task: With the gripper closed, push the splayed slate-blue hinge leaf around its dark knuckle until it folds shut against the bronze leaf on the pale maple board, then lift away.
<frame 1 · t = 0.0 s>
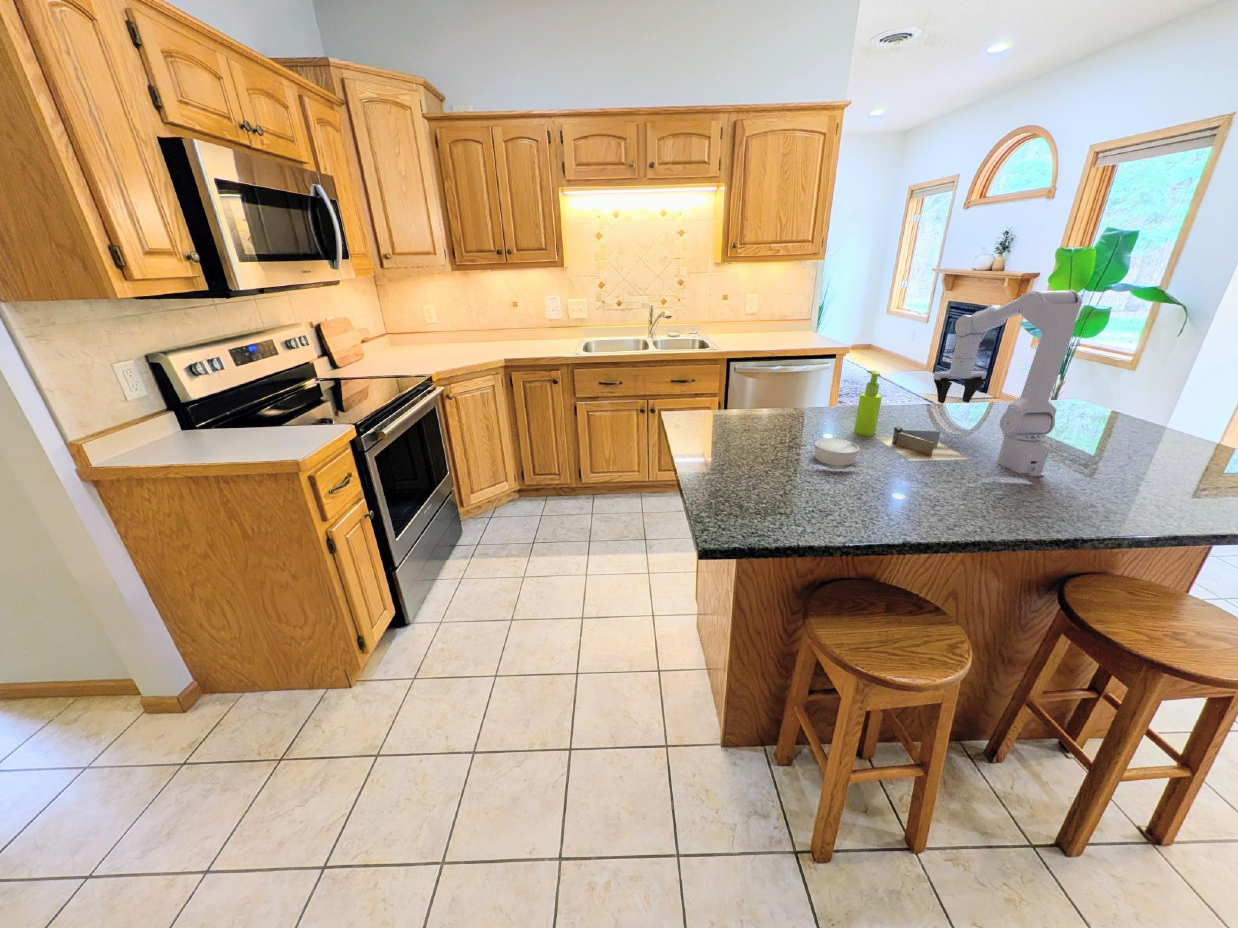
hand: (953, 402, 152), 10 cm above the countertop, fingers open, 7 cm apart
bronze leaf: (895, 443, 145), resting on maple board
soap dispenser: (863, 436, 155), on the countertop
ramekin: (833, 463, 136), on the countertop
slate leaf: (919, 436, 143), point 3 cm above the countertop, hinge at 50.0°
maple board: (918, 451, 142), on the countertop
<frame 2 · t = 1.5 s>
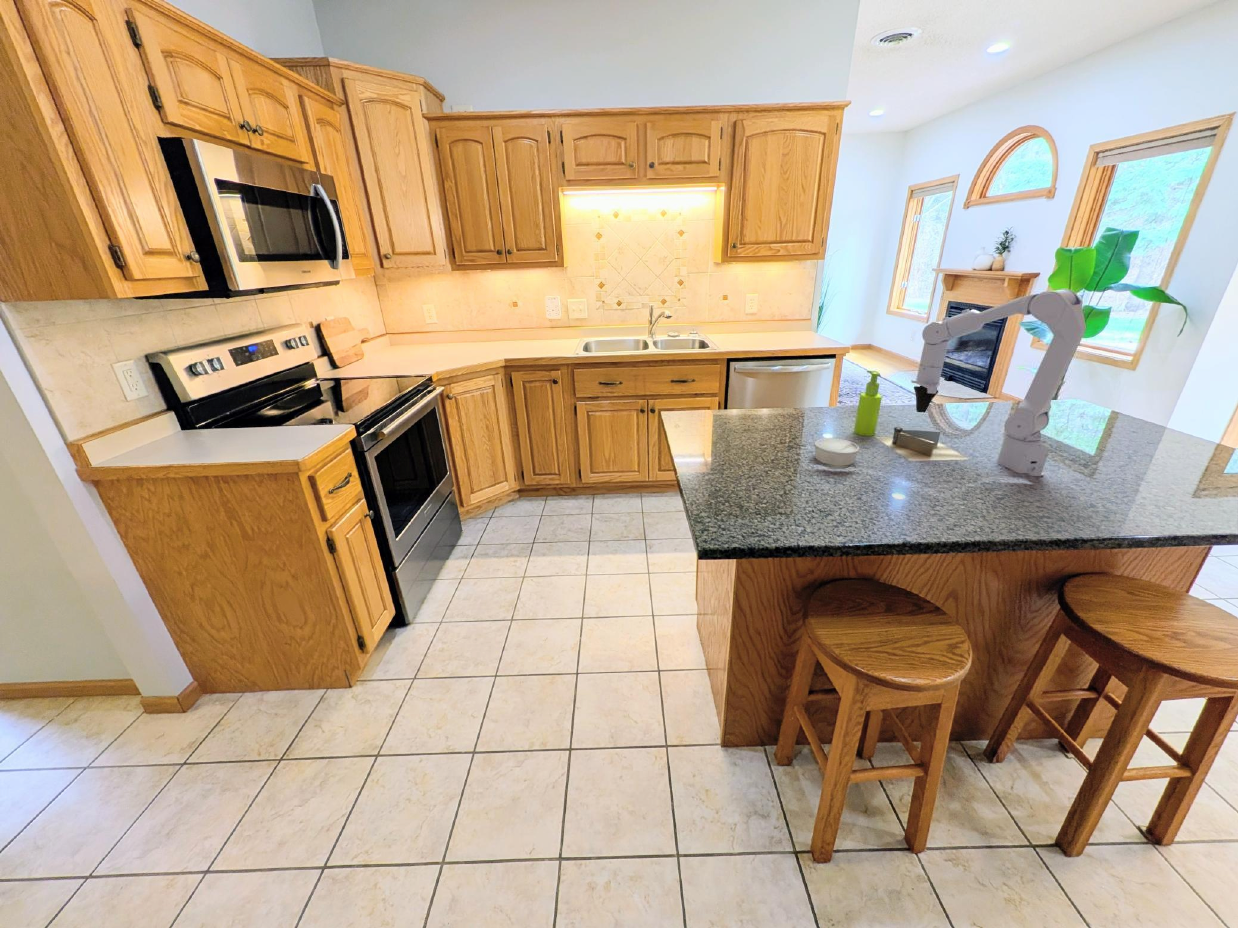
hand: (920, 411, 146), 9 cm above the countertop, fingers closed
nothing on the countertop moved.
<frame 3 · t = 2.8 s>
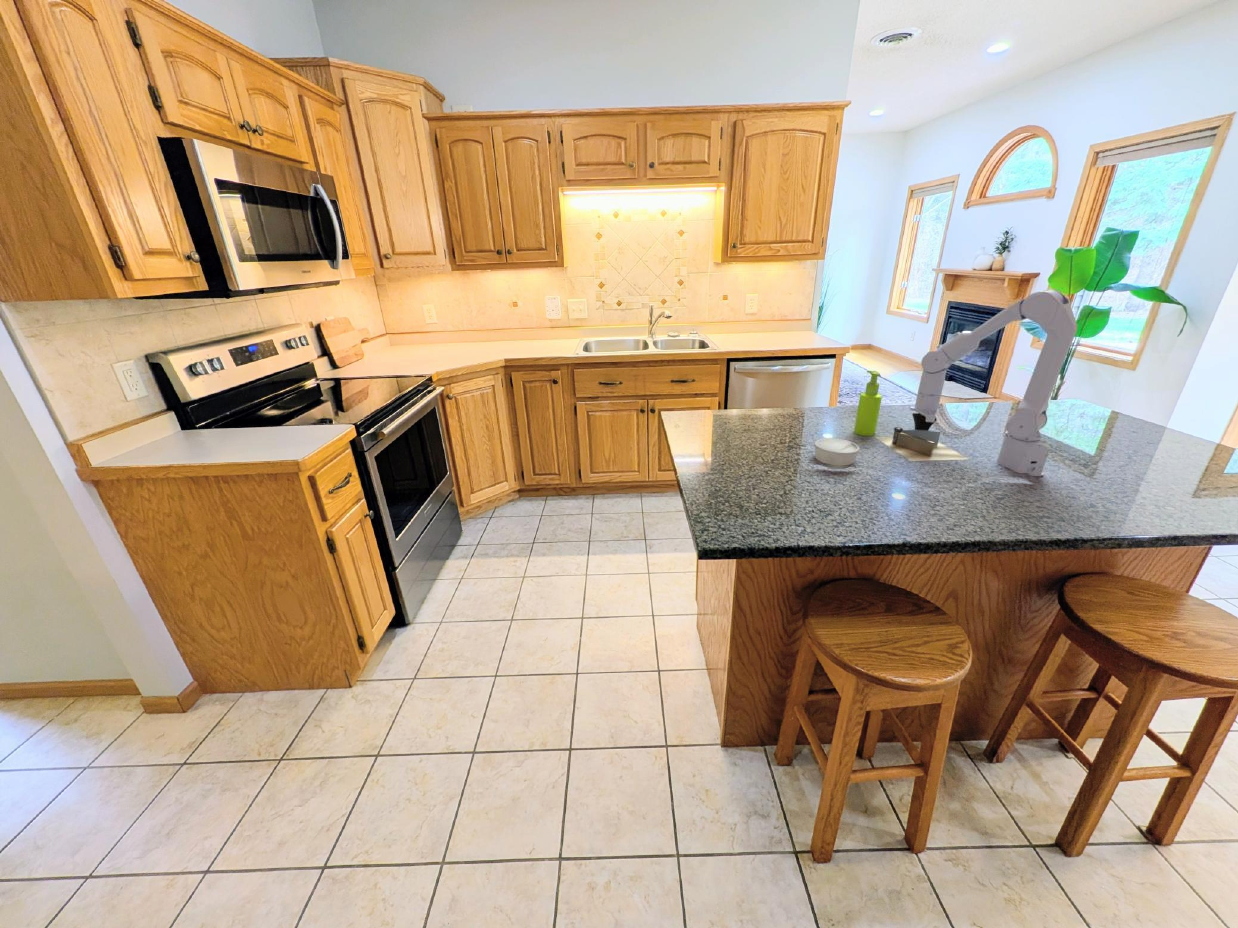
hand: (919, 438, 145), 2 cm above the countertop, fingers closed
slate leaf: (919, 436, 143), point 3 cm above the countertop, hinge at 50.0°, touching gripper
everything else where it was.
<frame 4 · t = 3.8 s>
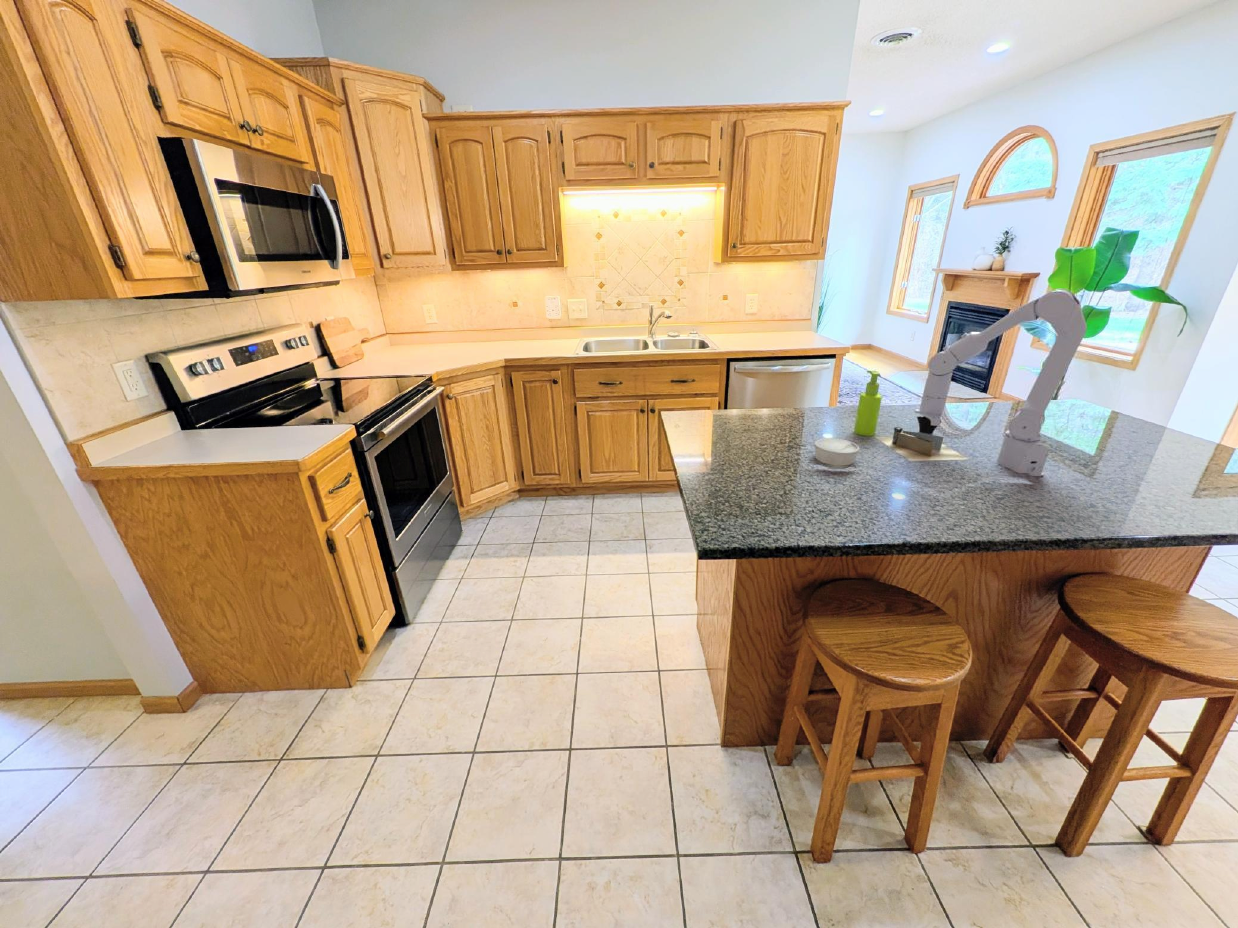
hand: (923, 442, 142), 2 cm above the countertop, fingers closed, pressing on slate leaf
slate leaf: (921, 439, 141), point 3 cm above the countertop, hinge at 25.9°, touching gripper
everything else where it was.
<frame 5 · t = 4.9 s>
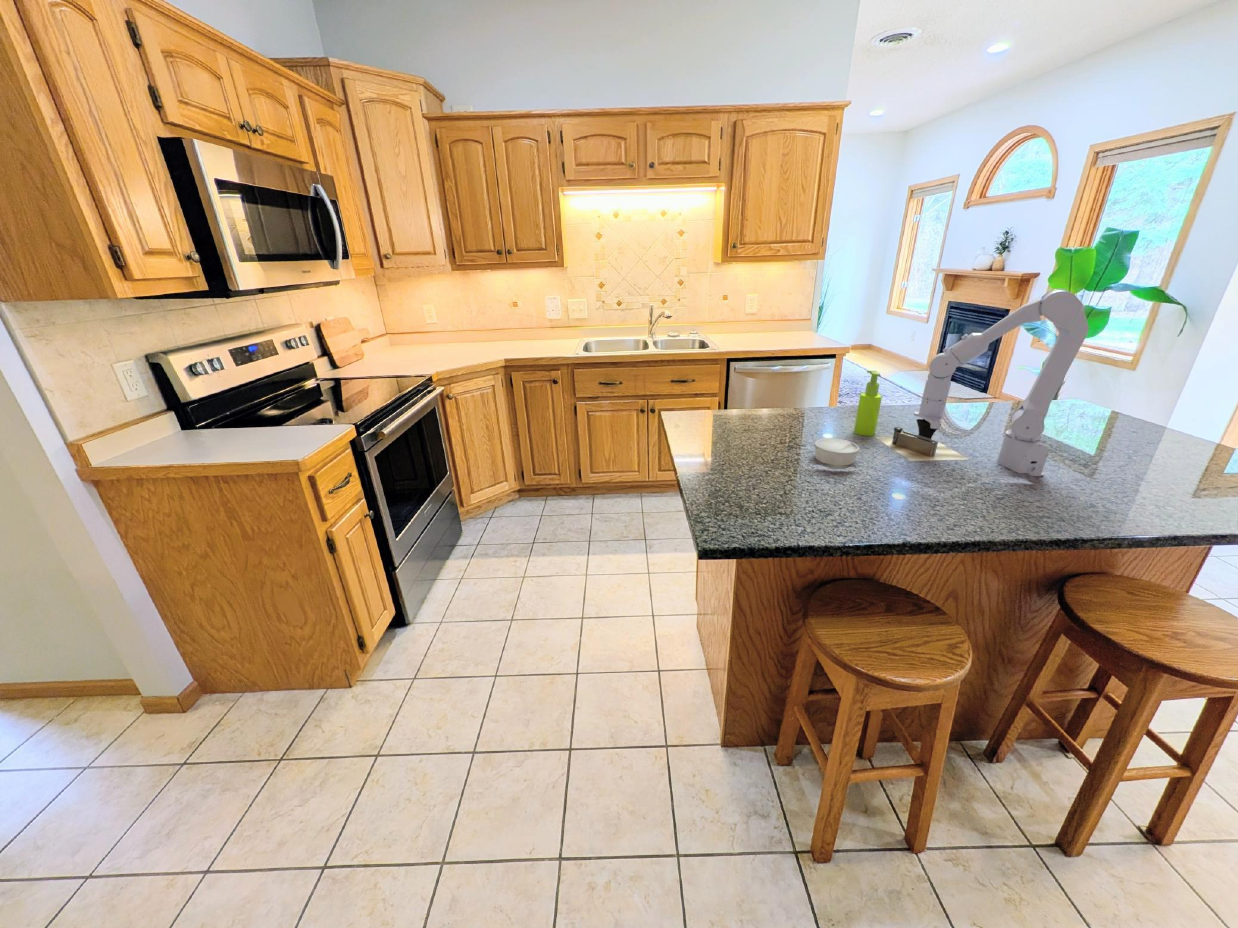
hand: (923, 445, 140), 2 cm above the countertop, fingers closed, pressing on slate leaf
slate leaf: (918, 442, 139), point 3 cm above the countertop, hinge at -2.3°, touching gripper
everything else where it was.
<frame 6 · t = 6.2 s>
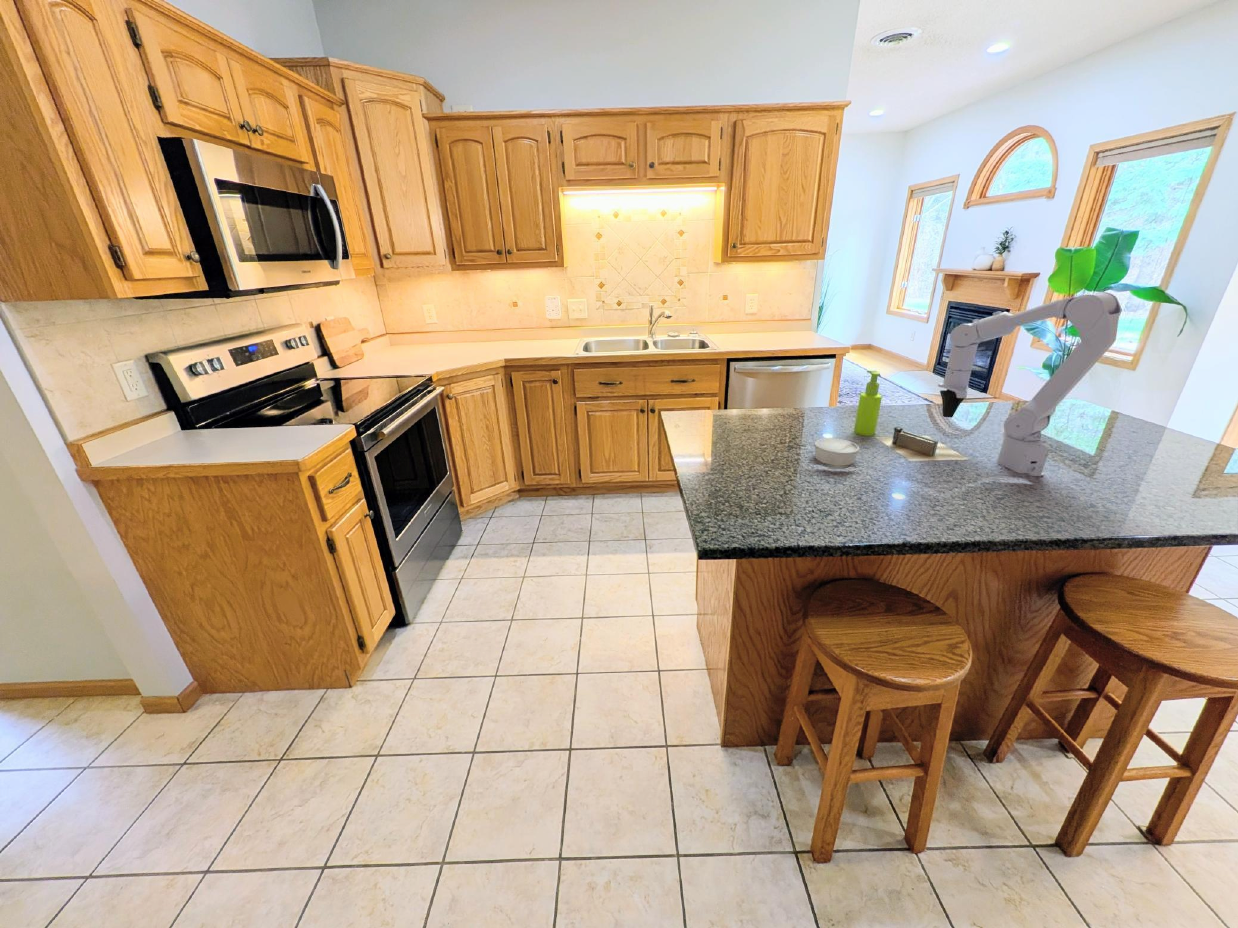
hand: (947, 416, 141), 9 cm above the countertop, fingers closed
slate leaf: (918, 442, 139), point 3 cm above the countertop, hinge at -2.3°
everything else where it was.
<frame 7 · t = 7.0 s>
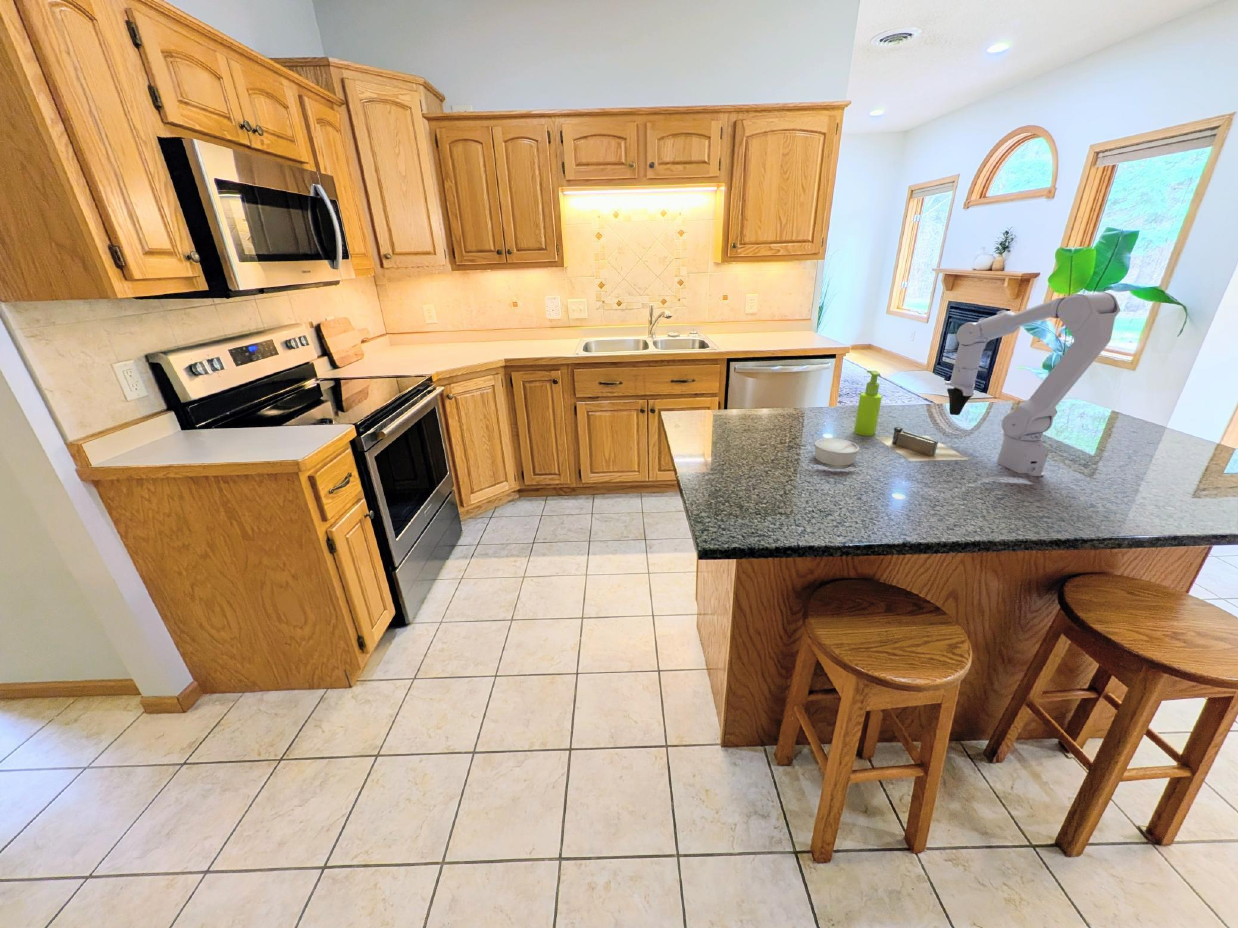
hand: (954, 414, 143), 9 cm above the countertop, fingers closed
nothing on the countertop moved.
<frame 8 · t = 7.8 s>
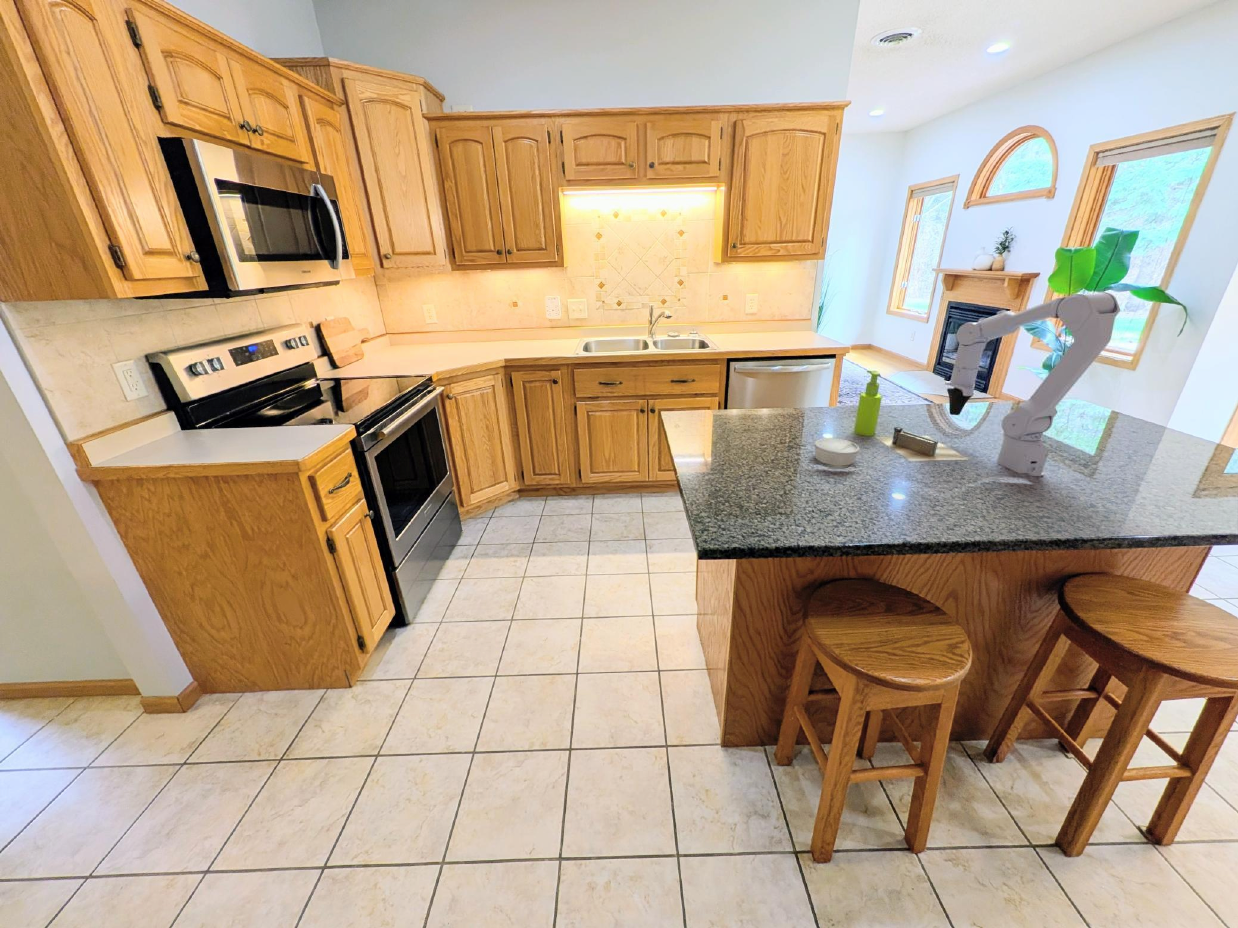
hand: (954, 414, 143), 9 cm above the countertop, fingers closed
nothing on the countertop moved.
at the end: slate leaf at -2° (first picture: +50°); soap dispenser moved 0.2 cm from its start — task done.
